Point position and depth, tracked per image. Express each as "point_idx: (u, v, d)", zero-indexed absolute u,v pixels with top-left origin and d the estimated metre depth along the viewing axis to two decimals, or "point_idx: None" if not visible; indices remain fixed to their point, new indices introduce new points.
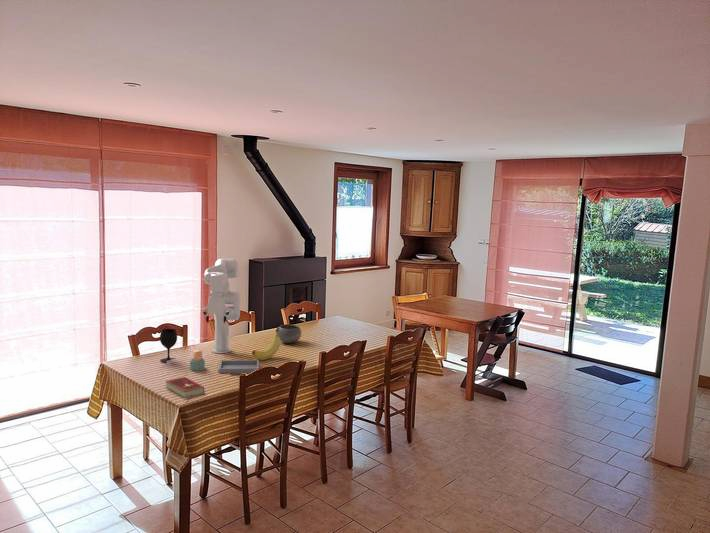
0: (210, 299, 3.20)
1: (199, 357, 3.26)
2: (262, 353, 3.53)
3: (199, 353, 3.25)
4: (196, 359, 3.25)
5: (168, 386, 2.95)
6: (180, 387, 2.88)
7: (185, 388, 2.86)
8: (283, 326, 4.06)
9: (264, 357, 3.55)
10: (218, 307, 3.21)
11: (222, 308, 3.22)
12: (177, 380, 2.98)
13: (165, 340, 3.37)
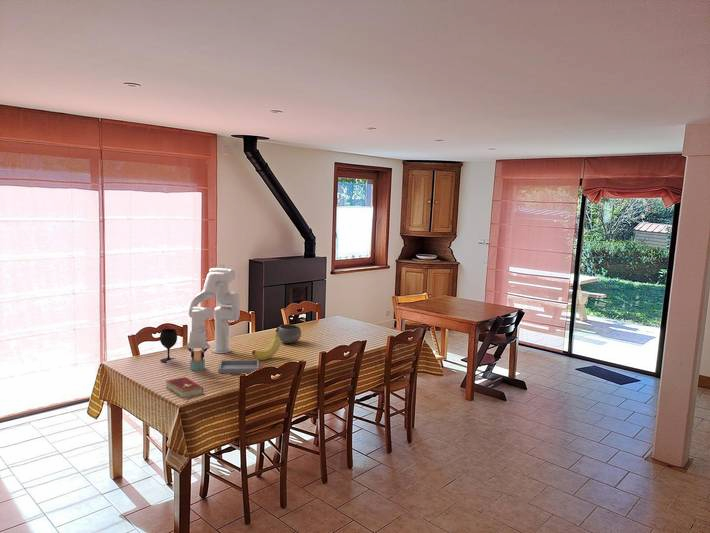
0: (191, 334, 3.23)
1: (199, 357, 3.26)
2: (262, 353, 3.53)
3: (199, 353, 3.25)
4: (196, 359, 3.25)
5: (168, 386, 2.95)
6: (179, 387, 2.87)
7: (184, 388, 2.86)
8: (283, 326, 4.06)
9: (264, 357, 3.55)
10: (200, 342, 3.24)
11: (203, 343, 3.25)
12: (177, 380, 2.98)
13: (165, 340, 3.37)
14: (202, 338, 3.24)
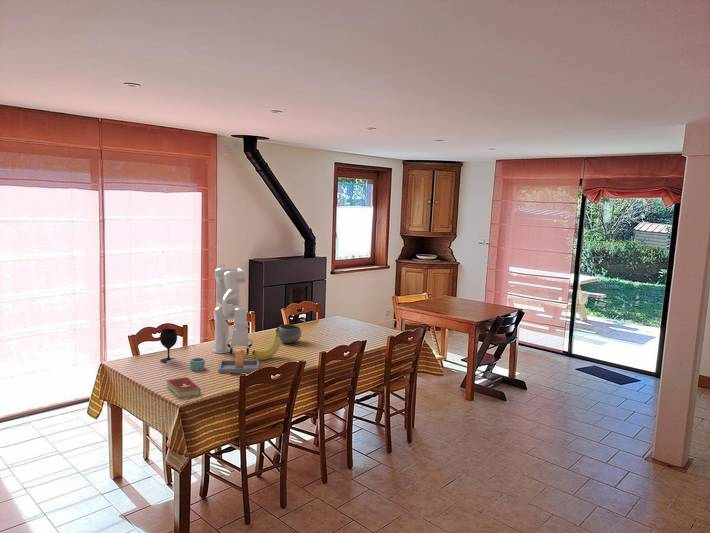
0: (234, 332, 3.28)
1: (241, 357, 3.30)
2: (262, 353, 3.53)
3: (241, 353, 3.30)
4: (238, 359, 3.30)
5: (168, 385, 2.96)
6: (177, 387, 2.87)
7: (181, 388, 2.85)
8: (283, 326, 4.06)
9: (264, 357, 3.55)
10: (242, 340, 3.29)
11: (245, 340, 3.30)
12: (178, 380, 2.99)
13: (165, 340, 3.37)
14: (244, 336, 3.29)
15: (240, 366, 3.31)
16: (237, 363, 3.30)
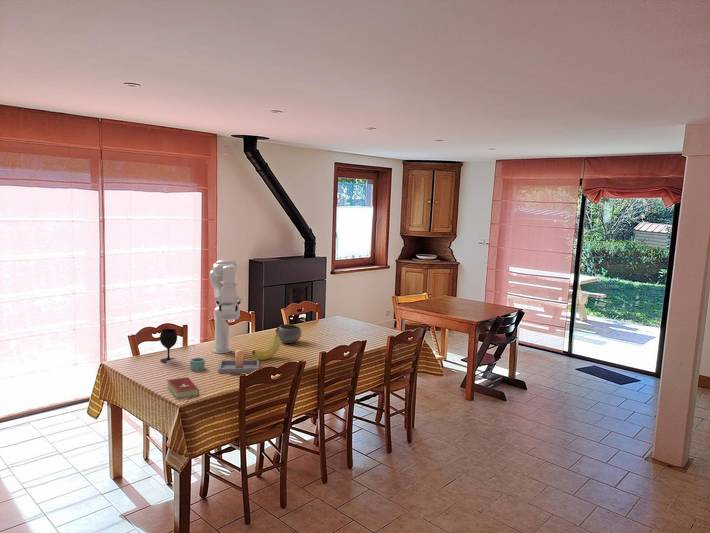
0: (223, 289, 3.40)
1: (241, 357, 3.30)
2: (262, 353, 3.53)
3: (241, 353, 3.30)
4: (238, 359, 3.30)
5: (168, 385, 2.97)
6: (175, 387, 2.87)
7: (179, 388, 2.85)
8: (283, 326, 4.06)
9: (264, 357, 3.55)
10: (230, 297, 3.41)
11: (234, 298, 3.42)
12: (178, 380, 2.99)
13: (165, 340, 3.37)
14: (233, 293, 3.41)
15: (240, 366, 3.31)
16: (237, 363, 3.30)
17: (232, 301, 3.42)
